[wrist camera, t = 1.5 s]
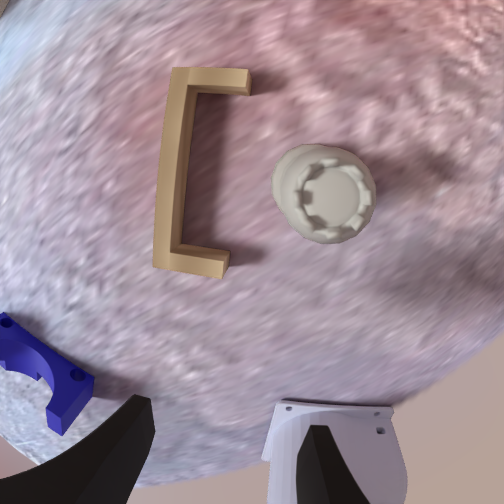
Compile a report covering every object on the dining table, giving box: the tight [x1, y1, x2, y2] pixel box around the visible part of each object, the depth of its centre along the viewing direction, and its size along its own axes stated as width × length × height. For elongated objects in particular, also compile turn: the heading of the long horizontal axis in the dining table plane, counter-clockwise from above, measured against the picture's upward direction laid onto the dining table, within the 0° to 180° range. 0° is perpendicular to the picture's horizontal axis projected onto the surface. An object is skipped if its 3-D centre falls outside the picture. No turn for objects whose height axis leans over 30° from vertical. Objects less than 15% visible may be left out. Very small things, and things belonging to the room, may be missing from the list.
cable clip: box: [0, 312, 94, 436], centre depth 20 cm, size 12×4×6 cm, turn 66°
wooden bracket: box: [153, 67, 252, 279], centre depth 16 cm, size 4×11×2 cm, turn 173°
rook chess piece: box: [271, 144, 376, 244], centre depth 13 cm, size 4×4×8 cm
